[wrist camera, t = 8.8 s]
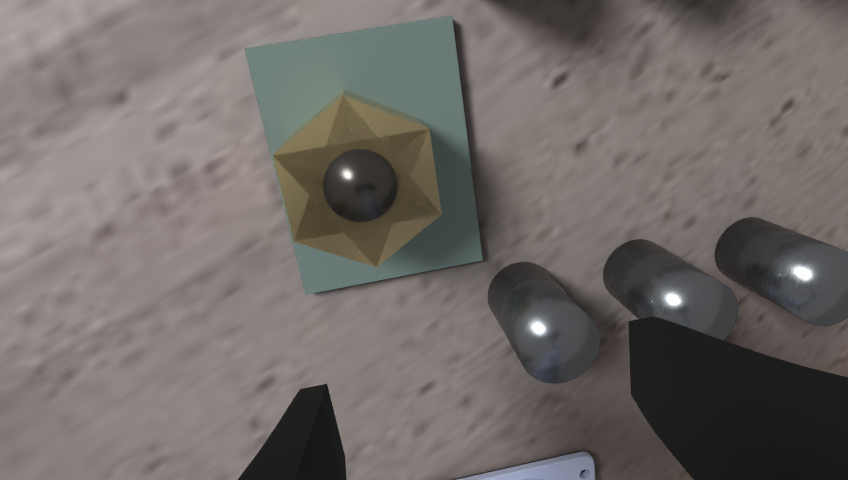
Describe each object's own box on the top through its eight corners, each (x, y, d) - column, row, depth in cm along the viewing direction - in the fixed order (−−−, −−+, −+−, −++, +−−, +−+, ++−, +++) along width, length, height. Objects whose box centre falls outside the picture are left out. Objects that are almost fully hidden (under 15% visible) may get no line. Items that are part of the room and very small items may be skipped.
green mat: (479, 255, 22) (482, 260, 21) (306, 289, 21) (305, 294, 21) (449, 16, 19) (452, 15, 18) (246, 49, 18) (244, 48, 18)
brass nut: (431, 223, 20) (448, 254, 17) (311, 245, 20) (303, 282, 17) (409, 78, 19) (422, 82, 15) (277, 100, 18) (260, 108, 15)
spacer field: (773, 272, 24) (866, 317, 20) (491, 329, 23) (524, 390, 19) (801, -147, 19) (934, -208, 14) (438, -95, 18) (466, -145, 13)
